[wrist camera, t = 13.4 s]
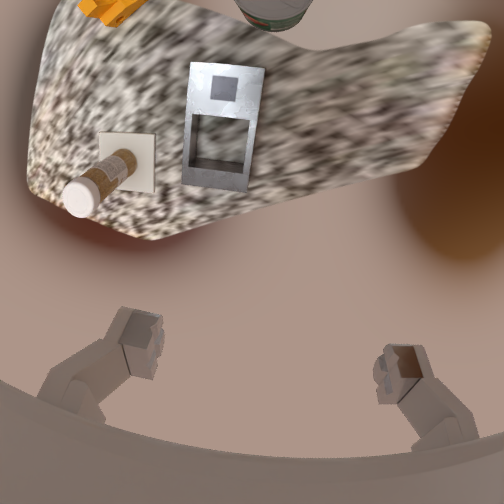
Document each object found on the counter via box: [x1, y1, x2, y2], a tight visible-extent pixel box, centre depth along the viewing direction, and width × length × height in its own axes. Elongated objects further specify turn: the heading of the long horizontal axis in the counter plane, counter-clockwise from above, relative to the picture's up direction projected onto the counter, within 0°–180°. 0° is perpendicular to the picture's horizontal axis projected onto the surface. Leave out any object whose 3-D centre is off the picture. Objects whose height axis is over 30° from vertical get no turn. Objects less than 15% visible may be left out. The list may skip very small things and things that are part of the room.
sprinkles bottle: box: [62, 149, 137, 218], centre depth 36 cm, size 5×5×13 cm
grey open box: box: [181, 62, 266, 193], centre depth 37 cm, size 16×9×4 cm, turn 172°
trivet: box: [99, 132, 156, 193], centre depth 42 cm, size 9×9×1 cm
